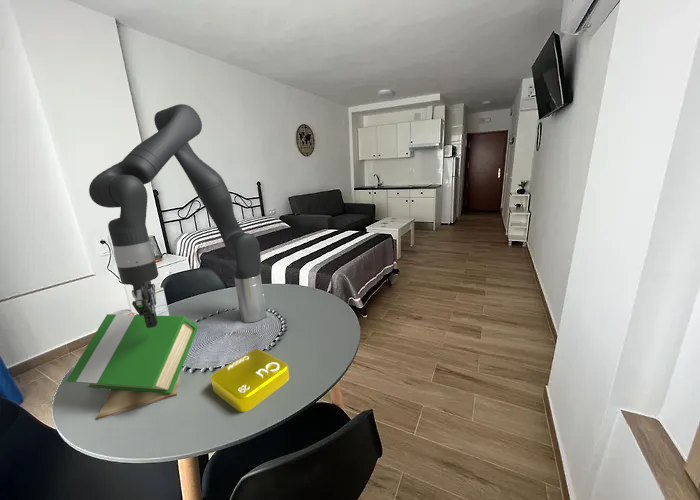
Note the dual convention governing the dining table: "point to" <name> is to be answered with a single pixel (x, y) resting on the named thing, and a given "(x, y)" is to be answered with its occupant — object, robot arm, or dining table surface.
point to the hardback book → (135, 354)
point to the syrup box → (161, 302)
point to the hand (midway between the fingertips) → (152, 325)
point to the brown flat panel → (131, 400)
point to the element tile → (250, 379)
